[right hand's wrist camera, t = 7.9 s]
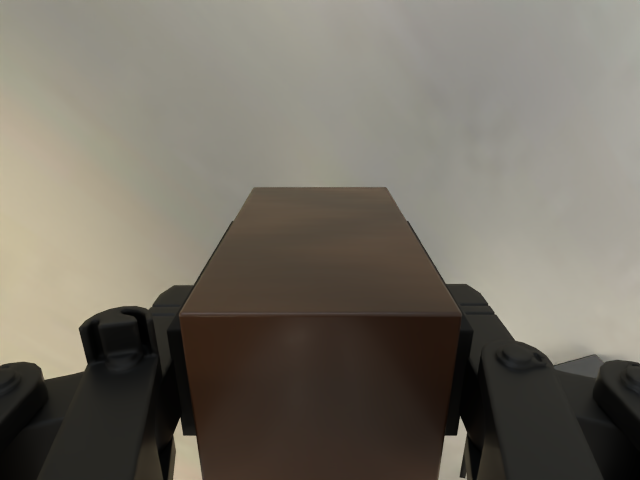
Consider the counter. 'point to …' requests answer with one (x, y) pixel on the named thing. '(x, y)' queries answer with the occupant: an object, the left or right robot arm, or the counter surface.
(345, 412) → the walnut plank
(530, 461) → the right robot arm
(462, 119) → the counter surface
